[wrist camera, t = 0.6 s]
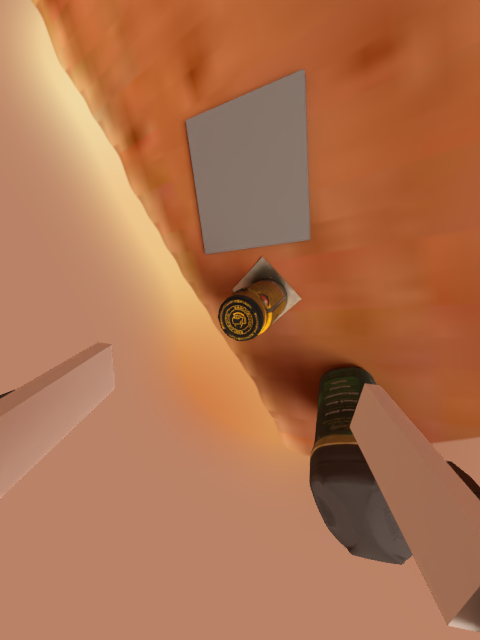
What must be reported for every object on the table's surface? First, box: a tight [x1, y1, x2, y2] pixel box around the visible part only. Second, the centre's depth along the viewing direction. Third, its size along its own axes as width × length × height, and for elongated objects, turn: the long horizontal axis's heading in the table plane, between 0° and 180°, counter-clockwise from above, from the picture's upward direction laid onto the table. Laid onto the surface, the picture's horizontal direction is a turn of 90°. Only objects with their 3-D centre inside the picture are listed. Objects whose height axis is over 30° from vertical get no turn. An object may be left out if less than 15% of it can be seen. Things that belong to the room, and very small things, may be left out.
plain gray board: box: [186, 69, 311, 254], centre depth 30 cm, size 18×16×1 cm
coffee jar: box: [310, 367, 412, 565], centre depth 26 cm, size 10×8×19 cm
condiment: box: [218, 257, 301, 341], centre depth 29 cm, size 7×8×12 cm
